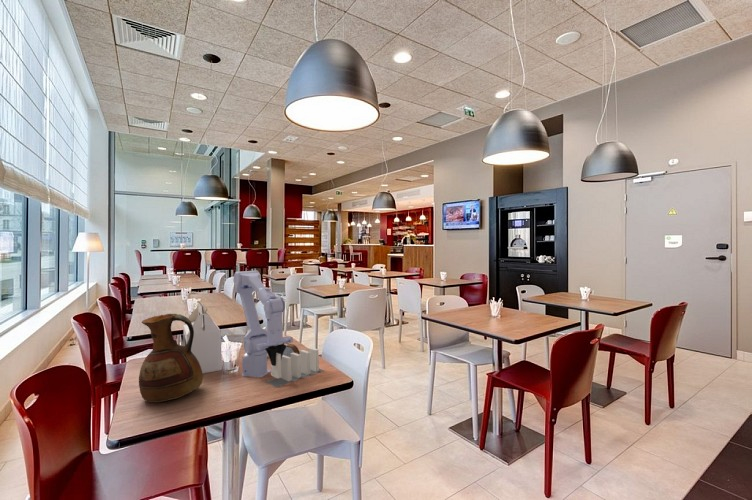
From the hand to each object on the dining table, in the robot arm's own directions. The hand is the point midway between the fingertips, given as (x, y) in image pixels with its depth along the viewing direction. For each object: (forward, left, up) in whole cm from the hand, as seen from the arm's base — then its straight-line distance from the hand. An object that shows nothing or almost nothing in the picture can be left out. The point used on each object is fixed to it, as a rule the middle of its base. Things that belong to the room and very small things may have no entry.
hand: (275, 364), depth 140 cm
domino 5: (+9, +16, -7) cm, 19 cm away
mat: (+4, +8, -8) cm, 12 cm away
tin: (-9, +25, -8) cm, 28 cm away
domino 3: (+4, +8, -7) cm, 12 cm away
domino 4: (+7, +12, -7) cm, 15 cm away
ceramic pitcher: (-33, -16, -8) cm, 37 cm away
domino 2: (+2, +4, -7) cm, 8 cm away
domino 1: (0, 0, -5) cm, 5 cm away
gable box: (-44, +13, -8) cm, 46 cm away
